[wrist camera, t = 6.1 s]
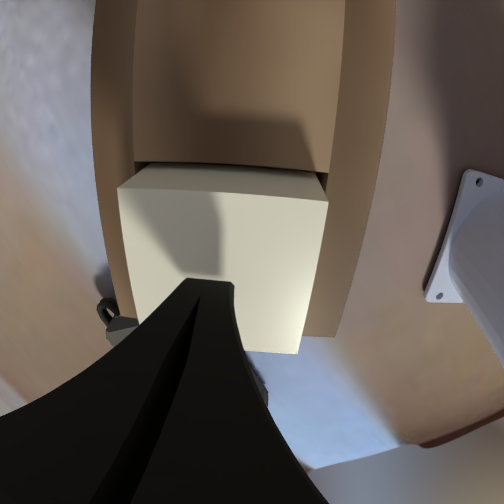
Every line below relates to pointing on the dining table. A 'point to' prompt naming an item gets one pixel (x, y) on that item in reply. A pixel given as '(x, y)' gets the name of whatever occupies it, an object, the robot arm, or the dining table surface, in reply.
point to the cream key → (227, 241)
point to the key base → (246, 109)
